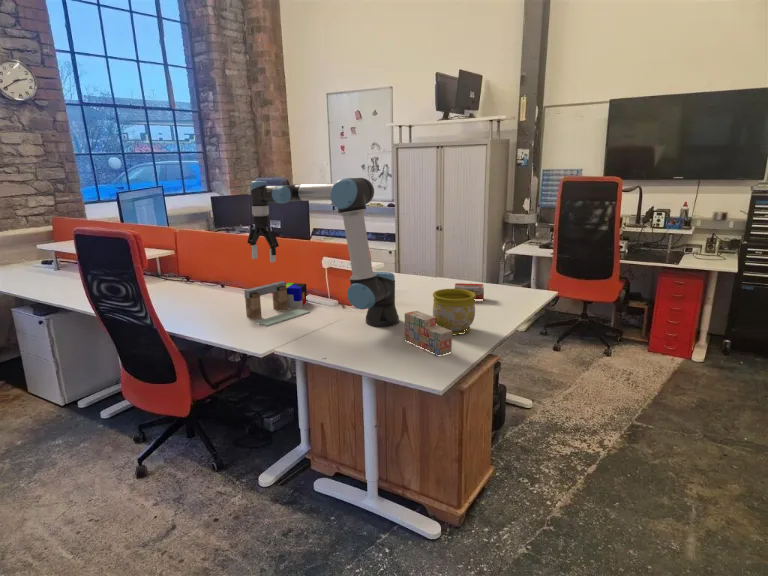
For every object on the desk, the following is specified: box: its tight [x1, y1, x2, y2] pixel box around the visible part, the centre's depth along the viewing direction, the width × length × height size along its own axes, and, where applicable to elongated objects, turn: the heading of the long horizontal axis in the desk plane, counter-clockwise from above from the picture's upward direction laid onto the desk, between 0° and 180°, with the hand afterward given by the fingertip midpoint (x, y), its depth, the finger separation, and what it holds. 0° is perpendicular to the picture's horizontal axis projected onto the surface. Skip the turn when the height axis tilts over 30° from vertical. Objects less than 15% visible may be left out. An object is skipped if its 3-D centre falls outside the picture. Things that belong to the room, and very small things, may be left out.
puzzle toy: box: [286, 282, 308, 308], centre depth 253 cm, size 10×10×10 cm
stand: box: [244, 286, 289, 320], centre depth 238 cm, size 6×20×12 cm, turn 141°
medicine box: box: [453, 283, 485, 300], centre depth 258 cm, size 15×8×8 cm, turn 81°
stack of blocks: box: [404, 310, 453, 355], centre depth 192 cm, size 21×6×12 cm, turn 35°
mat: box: [255, 308, 311, 327], centre depth 232 cm, size 8×26×1 cm, turn 141°
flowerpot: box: [432, 288, 476, 334], centre depth 210 cm, size 18×18×16 cm
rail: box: [243, 280, 287, 299], centre depth 237 cm, size 22×4×4 cm, turn 141°
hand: (263, 260), depth 233 cm, fingers open, 13 cm apart
